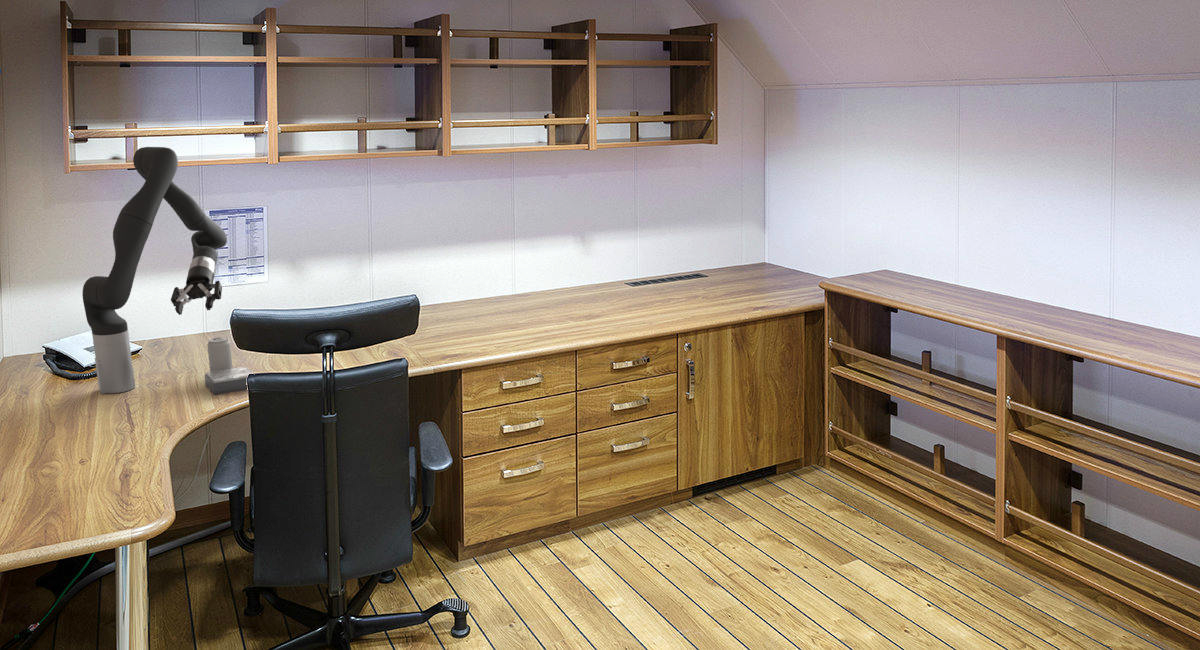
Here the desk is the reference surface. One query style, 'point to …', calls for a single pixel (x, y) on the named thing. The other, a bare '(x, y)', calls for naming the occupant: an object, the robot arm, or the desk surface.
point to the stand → (227, 380)
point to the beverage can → (219, 354)
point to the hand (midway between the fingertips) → (193, 310)
